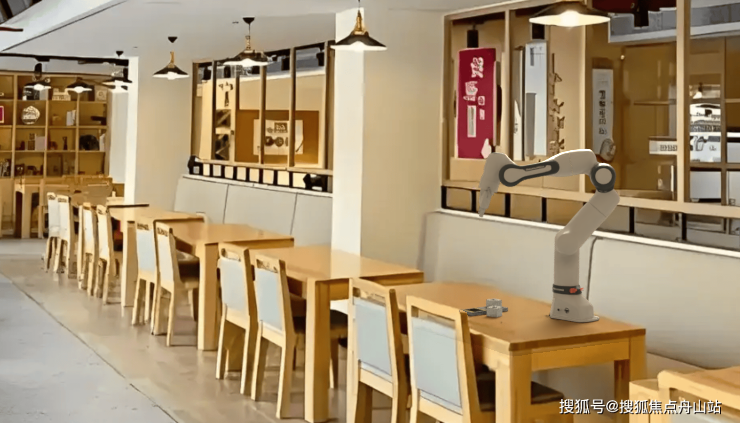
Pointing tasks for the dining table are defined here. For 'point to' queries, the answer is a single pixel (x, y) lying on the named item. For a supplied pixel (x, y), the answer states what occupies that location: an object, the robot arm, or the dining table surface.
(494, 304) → the grey cube
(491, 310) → the nut
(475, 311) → the rail
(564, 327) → the dining table surface
